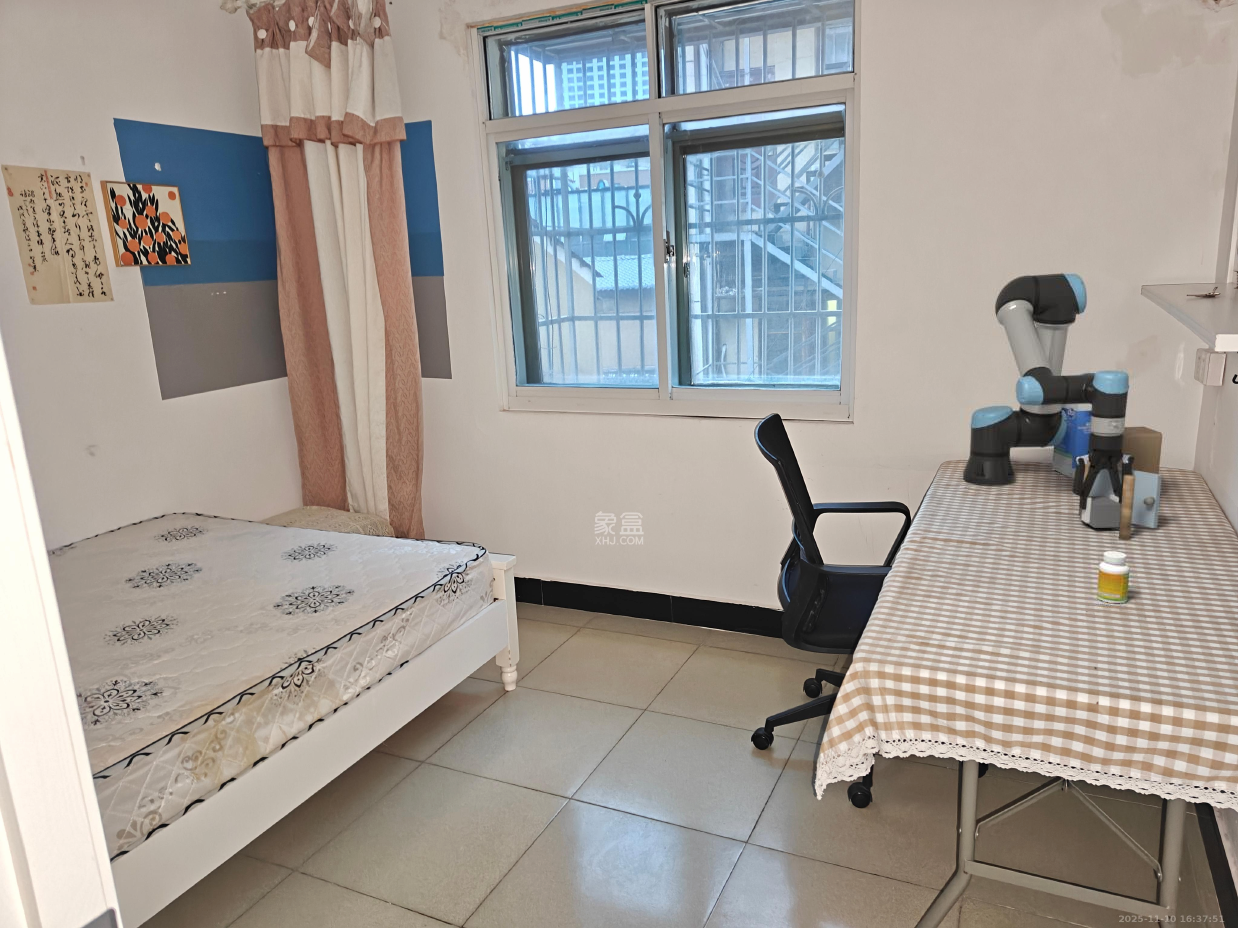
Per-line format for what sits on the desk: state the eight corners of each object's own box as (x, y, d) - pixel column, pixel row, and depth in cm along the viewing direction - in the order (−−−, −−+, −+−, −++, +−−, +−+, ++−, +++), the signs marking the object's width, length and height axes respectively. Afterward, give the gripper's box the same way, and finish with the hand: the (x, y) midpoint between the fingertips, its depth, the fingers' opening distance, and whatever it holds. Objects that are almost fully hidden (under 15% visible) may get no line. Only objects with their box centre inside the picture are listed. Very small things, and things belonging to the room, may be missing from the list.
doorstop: (1079, 518, 219) (1081, 496, 218) (1103, 517, 218) (1105, 495, 217) (1094, 527, 211) (1096, 504, 210) (1119, 527, 211) (1121, 504, 209)
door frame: (1077, 514, 227) (1081, 456, 223) (1086, 513, 227) (1090, 456, 223) (1122, 540, 205) (1127, 477, 201) (1132, 540, 204) (1137, 476, 201)
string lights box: (1096, 478, 262) (1102, 396, 256) (1072, 479, 262) (1078, 398, 256) (1073, 468, 275) (1078, 390, 269) (1050, 469, 275) (1055, 392, 269)
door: (1083, 514, 223) (1086, 465, 220) (1091, 512, 225) (1094, 463, 222) (1148, 529, 208) (1153, 477, 205) (1157, 526, 210) (1161, 474, 207)
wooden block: (1139, 493, 243) (1145, 425, 239) (1157, 502, 234) (1164, 432, 229) (1103, 493, 244) (1108, 427, 240) (1120, 503, 235) (1125, 433, 230)
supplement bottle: (1126, 605, 167) (1130, 560, 165) (1095, 601, 170) (1099, 556, 168) (1127, 596, 171) (1131, 551, 169) (1097, 592, 174) (1100, 548, 172)
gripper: (1074, 437, 207) (1067, 526, 212) (1154, 434, 205) (1145, 524, 211) (1060, 431, 214) (1054, 517, 219) (1137, 428, 213) (1129, 515, 218)
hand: (1098, 520), depth 215 cm, fingers closed on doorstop, 6 cm apart
